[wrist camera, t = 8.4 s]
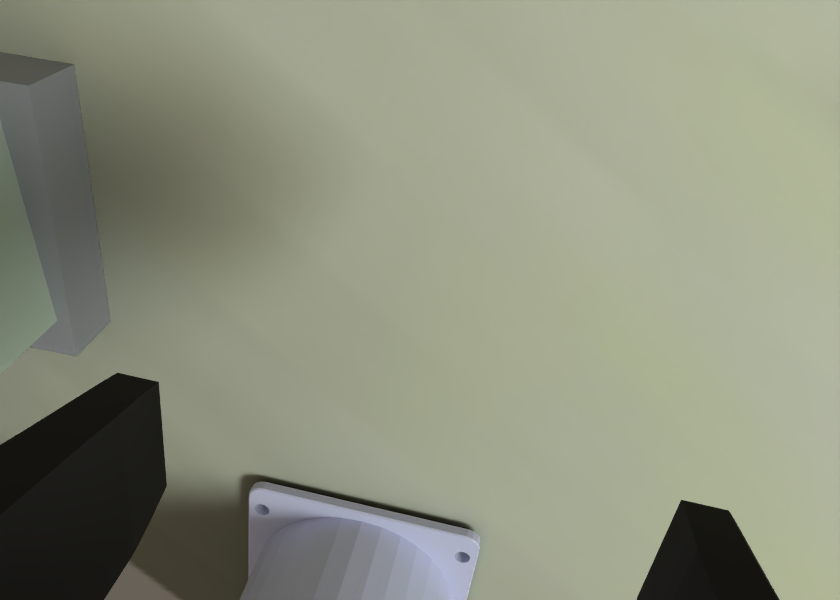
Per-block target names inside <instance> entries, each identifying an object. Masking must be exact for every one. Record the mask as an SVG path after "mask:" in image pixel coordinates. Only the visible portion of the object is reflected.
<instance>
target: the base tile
mask: <svg viewBox="0 0 840 600" xmlns="http://www.w3.org/2000/svg"><path fill="white" fill-rule="evenodd" d="M0 121H1V125H2V128H3V132H4V135H5V139H6V142H7V146H8V149H9V153H10V156H11V160H12V163H13V167H14V170H15V174H16V177H17V181H18V184H19V188H20V191H21V195H22V198H23V202H24V205H25V209H26V212H27V216H28V220H29V223H30V227H31V230H32V234H33V237H34V241H35V244H36V248H37V251H38V255H39V258H40V262H41V265H42V269H43V272H44V276H45V279H46V283H47V286H48V290H49V293H50V297H51V301H52V304H53V308H54V311H55V315H56V318H57V321H56V322H55V323H54V324H53V325H52V326H51V327H50V328H49V329H48V330H47V331H46V332H45V333H44V334H43V335H41V336H40V337H39V338H38V339H37V340H36V341H35V342H34V343H33V344H32V345H31V346H30V347H33V348H38V349H43V350H48V351H53V352H58V353H62V354H67V355H72V356H78V355H79V354H80V352H81V351H82V350H83V349H84V348H85V347H86V346H87V345H88V344H89V343H90V342H91V341H92V340H93V339H94V338H95V337H96V336H97V335H98V334H99V333H100V332H101V331H102V330H103V328H104V327H105V326H106V325H107V324H108V323H109V322H110V321H111V320H110V313H109V306H108V299H107V292H106V285H105V278H104V271H103V264H102V257H101V250H100V243H99V236H98V229H97V222H96V215H95V208H94V201H93V194H92V187H91V180H90V173H89V166H88V159H87V152H86V145H85V138H84V131H83V124H82V117H81V110H80V103H79V96H78V89H77V82H76V75H75V68H74V64H68V63H62V62H56V61H50V60H44V59H38V58H32V57H26V56H20V55H13V54H7V53H1V52H0Z"/></svg>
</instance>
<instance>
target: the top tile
mask: <svg viewBox="0 0 840 600" xmlns="http://www.w3.org/2000/svg"><path fill="white" fill-rule="evenodd" d="M56 321H57V318H56V315H55V311H54V308H53V304H52V301H51V297H50V293H49V290H48V286H47V283H46V279H45V276H44V272H43V269H42V265H41V262H40V258H39V255H38V251H37V248H36V244H35V241H34V237H33V234H32V230H31V227H30V223H29V220H28V216H27V212H26V209H25V205H24V202H23V198H22V195H21V191H20V188H19V184H18V181H17V177H16V174H15V170H14V167H13V163H12V160H11V156H10V153H9V149H8V146H7V142H6V139H5V135H4V132H3V128H2V125H1V121H0V374H1V373H2V372H3V371H4V370H5V369H6V368H7V367H9V366H10V365H11V364H12V363H13V362H14V361H15V360H16V359H17V358H18V357H19V356H20V355H21V354H22V353H23V352H24V351H26V350H27V349H28V348H29V347H30V346H31V345H32V344H33V343H34V342H35V341H36V340H37V339H38V338H39V337H40V336H41V335H43V334H44V333H45V332H46V331H47V330H48V329H49V328H50V327H51V326H52V325H53V324H54V323H55V322H56Z"/></svg>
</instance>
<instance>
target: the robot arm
mask: <svg viewBox="0 0 840 600" xmlns="http://www.w3.org/2000/svg"><path fill="white" fill-rule="evenodd" d="M166 486H167V483H166V471H165V458H164V445H163V432H162V420H161V407H160V394H159V382H156V381H152V380H147V379H143V378H138V377H134V376H129V375H125V374H120V373H116V374H115V375H113V376H111V377H109V378H108V379H106V380H104V381H103V382H101V383H99V384H98V385H96V386H95V387H93V388H91V389H90V390H88V391H87V392H85V393H83V394H82V395H80V396H79V397H77V398H75V399H74V400H72V401H71V402H69V403H67V404H66V405H64V406H63V407H61V408H59V409H58V410H56V411H55V412H53V413H51V414H50V415H48V416H47V417H45V418H43V419H42V420H40V421H39V422H37V423H35V424H34V425H32V426H31V427H29V428H27V429H26V430H24V431H23V432H21V433H19V434H18V435H16V436H14V437H13V438H11V439H9V440H8V441H6V442H4V443H3V444H1V445H0V600H104V599H105V597H106V596H107V594H108V592H109V591H110V589H111V588H112V586H113V585H114V583H115V582H116V580H117V579H118V577H119V576H120V574H121V572H122V571H123V569H124V568H125V566H126V565H127V563H128V561H129V560H130V558H131V557H132V555H133V553H134V552H135V550H136V548H137V546H138V544H139V542H140V540H141V538H142V536H143V534H144V532H145V530H146V528H147V526H148V524H149V522H150V520H151V518H152V516H153V514H154V512H155V510H156V507H157V505H158V503H159V501H160V499H161V497H162V495H163V493H164V490H165V488H166ZM264 505H265V506H264ZM480 543H481V542H480V537H479V536H478V534H476V533H475V532H474V531H471V530H469V529H465V528H461V527H456V526H452V525H448V524H444V523H439V522H435V521H431V520H427V519H422V518H418V517H414V516H409V515H405V514H401V513H397V512H392V511H388V510H384V509H380V508H375V507H371V506H367V505H363V504H358V503H354V502H350V501H345V500H341V499H337V498H333V497H328V496H324V495H320V494H316V493H311V492H307V491H303V490H299V489H294V488H290V487H286V486H281V485H277V484H273V483H269V482H257V483H255V484H254V485H253V486H252V488H251V490H250V492H249V518H248V581H247V584H246V586H245V588H244V590H243V593H242V595H241V597H240V599H239V600H467V597H468V593H469V589H470V585H471V581H472V577H473V573H474V569H475V565H476V562H477V558H478V554H479V550H480ZM461 552H464V553H461ZM637 600H779V598H778V596H777V595H776V593H775V591H774V589H773V588H772V586H771V584H770V582H769V581H768V579H767V577H766V575H765V573H764V572H763V570H762V568H761V566H760V565H759V563H758V561H757V559H756V557H755V556H754V554H753V552H752V550H751V548H750V547H749V545H748V543H747V541H746V539H745V538H744V536H743V534H742V532H741V530H740V529H739V527H738V525H737V523H736V522H735V520H734V518H733V517H732V515H731V513H730V512H729V511H728V510H724V509H719V508H715V507H710V506H706V505H702V504H697V503H693V502H688V501H684V500H681V502H680V504H679V506H678V508H677V511H676V513H675V515H674V517H673V520H672V522H671V524H670V526H669V528H668V531H667V533H666V535H665V537H664V539H663V542H662V544H661V546H660V548H659V551H658V553H657V555H656V557H655V559H654V562H653V564H652V566H651V568H650V570H649V573H648V575H647V577H646V579H645V582H644V584H643V586H642V588H641V590H640V593H639V595H638V597H637Z"/></svg>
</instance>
